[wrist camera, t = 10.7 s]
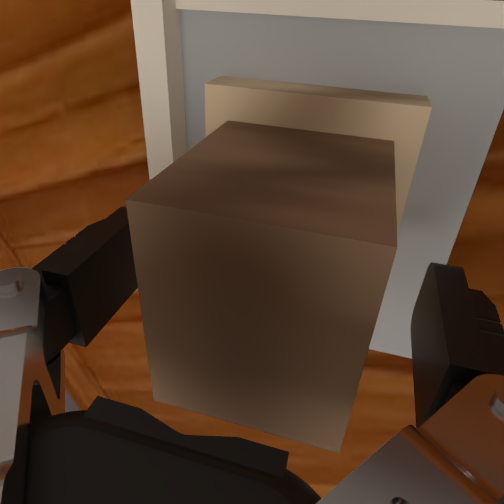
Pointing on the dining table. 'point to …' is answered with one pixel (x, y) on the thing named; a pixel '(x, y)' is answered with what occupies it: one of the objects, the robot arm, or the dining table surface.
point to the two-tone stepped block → (274, 252)
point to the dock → (344, 76)
